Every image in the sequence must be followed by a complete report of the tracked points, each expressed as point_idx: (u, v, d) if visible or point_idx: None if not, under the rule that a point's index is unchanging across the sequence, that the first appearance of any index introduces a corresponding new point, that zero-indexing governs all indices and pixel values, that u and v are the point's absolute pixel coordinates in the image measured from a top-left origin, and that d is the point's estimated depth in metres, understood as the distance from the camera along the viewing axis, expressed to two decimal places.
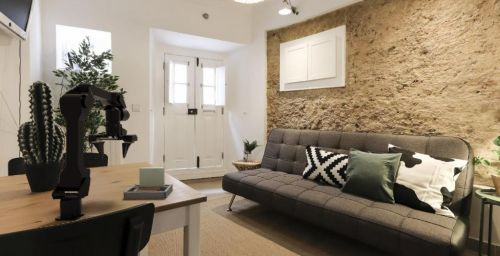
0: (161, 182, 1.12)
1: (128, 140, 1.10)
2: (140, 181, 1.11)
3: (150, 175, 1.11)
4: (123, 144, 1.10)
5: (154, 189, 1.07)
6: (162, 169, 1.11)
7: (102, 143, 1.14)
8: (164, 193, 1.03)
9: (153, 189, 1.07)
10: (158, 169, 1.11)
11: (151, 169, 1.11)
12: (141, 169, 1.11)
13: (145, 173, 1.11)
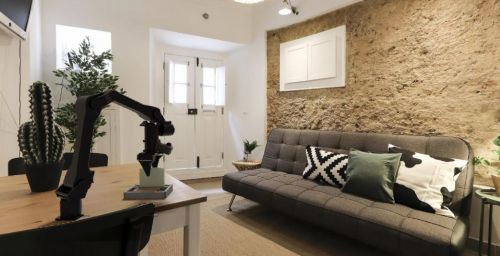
0: (161, 182, 1.12)
1: None
2: (140, 181, 1.11)
3: (150, 175, 1.11)
4: None
5: (154, 189, 1.07)
6: (162, 169, 1.11)
7: (157, 157, 1.17)
8: (164, 193, 1.03)
9: (153, 189, 1.07)
10: (158, 169, 1.11)
11: (151, 169, 1.11)
12: (141, 169, 1.11)
13: None
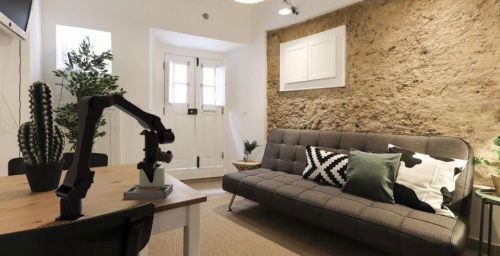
0: (161, 182, 1.12)
1: None
2: (140, 181, 1.11)
3: None
4: None
5: (154, 189, 1.07)
6: (162, 169, 1.11)
7: None
8: (164, 193, 1.03)
9: (153, 189, 1.07)
10: (158, 169, 1.11)
11: None
12: (141, 169, 1.11)
13: None
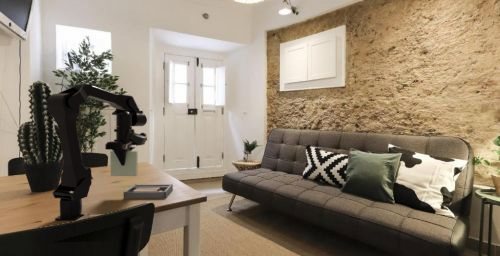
0: (133, 166, 1.07)
1: None
2: (111, 165, 1.06)
3: None
4: None
5: (154, 189, 1.07)
6: (134, 152, 1.06)
7: (127, 149, 1.08)
8: (164, 193, 1.03)
9: (153, 189, 1.07)
10: (130, 152, 1.06)
11: None
12: (112, 152, 1.06)
13: None
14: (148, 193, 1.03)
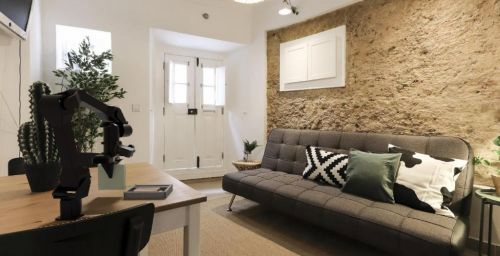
0: (121, 179, 1.05)
1: None
2: (99, 178, 1.05)
3: None
4: None
5: (154, 189, 1.07)
6: (122, 166, 1.05)
7: None
8: (164, 193, 1.03)
9: (153, 189, 1.07)
10: (118, 166, 1.05)
11: None
12: (100, 166, 1.04)
13: (104, 170, 1.05)
14: (148, 193, 1.03)
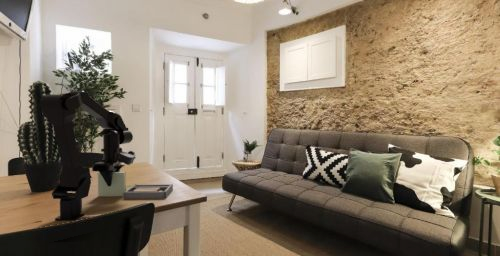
0: (121, 187, 1.05)
1: None
2: (99, 186, 1.05)
3: None
4: None
5: (154, 189, 1.07)
6: (122, 174, 1.05)
7: (116, 168, 1.08)
8: (164, 193, 1.03)
9: (153, 189, 1.07)
10: (118, 174, 1.05)
11: None
12: (100, 174, 1.05)
13: None
14: (148, 193, 1.03)
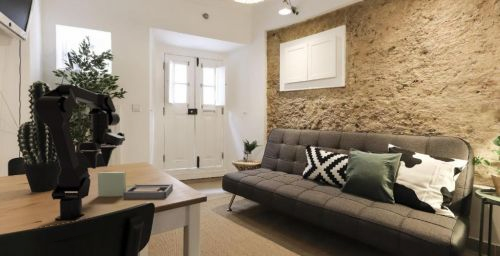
0: (121, 187, 1.05)
1: None
2: (99, 186, 1.05)
3: (109, 180, 1.05)
4: None
5: (154, 189, 1.07)
6: (122, 174, 1.05)
7: (109, 149, 1.08)
8: (164, 193, 1.03)
9: (153, 189, 1.07)
10: (118, 174, 1.05)
11: (110, 174, 1.05)
12: (100, 174, 1.05)
13: (104, 178, 1.05)
14: (148, 193, 1.03)
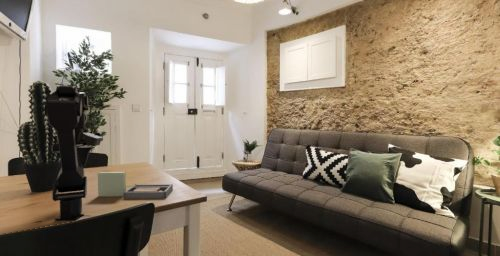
0: (121, 187, 1.05)
1: None
2: (99, 186, 1.05)
3: (109, 180, 1.05)
4: None
5: (154, 189, 1.07)
6: (122, 174, 1.05)
7: (86, 149, 1.04)
8: (164, 193, 1.03)
9: (153, 189, 1.07)
10: (118, 174, 1.05)
11: (110, 174, 1.05)
12: (100, 174, 1.05)
13: (104, 178, 1.05)
14: (148, 193, 1.03)
